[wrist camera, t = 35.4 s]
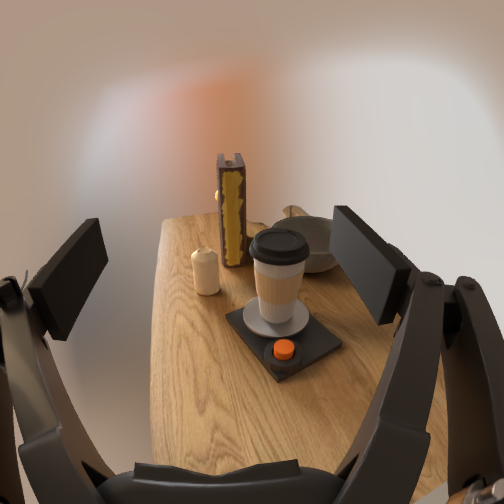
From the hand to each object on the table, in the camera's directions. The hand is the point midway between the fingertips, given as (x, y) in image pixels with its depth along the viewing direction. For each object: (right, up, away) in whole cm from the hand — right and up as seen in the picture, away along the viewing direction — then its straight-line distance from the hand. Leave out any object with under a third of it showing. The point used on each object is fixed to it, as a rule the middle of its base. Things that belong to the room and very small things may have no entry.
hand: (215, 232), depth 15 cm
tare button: (+7, -17, +28) cm, 34 cm away
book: (-4, 0, +66) cm, 66 cm away
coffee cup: (+6, -12, +36) cm, 38 cm away
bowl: (+16, -5, +57) cm, 59 cm away
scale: (+7, -16, +36) cm, 40 cm away
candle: (-8, -9, +48) cm, 50 cm away
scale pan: (+6, -13, +36) cm, 39 cm away
